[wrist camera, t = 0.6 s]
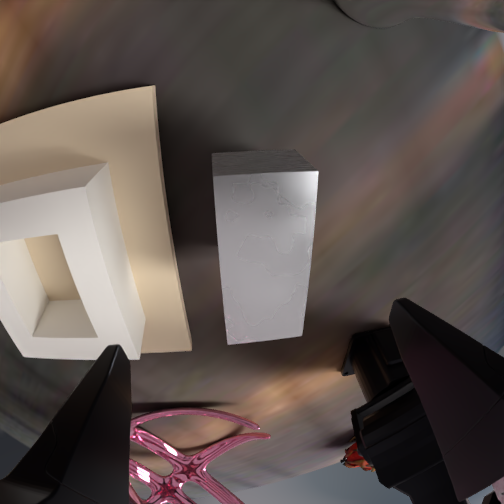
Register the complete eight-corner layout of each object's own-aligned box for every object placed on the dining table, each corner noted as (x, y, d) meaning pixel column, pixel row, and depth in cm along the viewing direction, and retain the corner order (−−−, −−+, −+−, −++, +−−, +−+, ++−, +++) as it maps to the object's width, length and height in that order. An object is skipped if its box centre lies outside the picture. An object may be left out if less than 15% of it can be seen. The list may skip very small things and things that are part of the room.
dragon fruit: (399, 414, 47) (336, 429, 49) (411, 423, 39) (338, 441, 41) (403, 453, 44) (341, 469, 46) (415, 468, 36) (343, 486, 38)
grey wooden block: (275, 259, 23) (302, 335, 16) (219, 264, 22) (227, 344, 16) (277, 134, 18) (318, 171, 12) (210, 137, 18) (213, 176, 11)
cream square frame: (191, 340, 26) (192, 389, 22) (36, 343, 24) (20, 384, 20) (155, 85, 15) (135, 89, 11) (-42, 141, 14) (-86, 165, 9)
